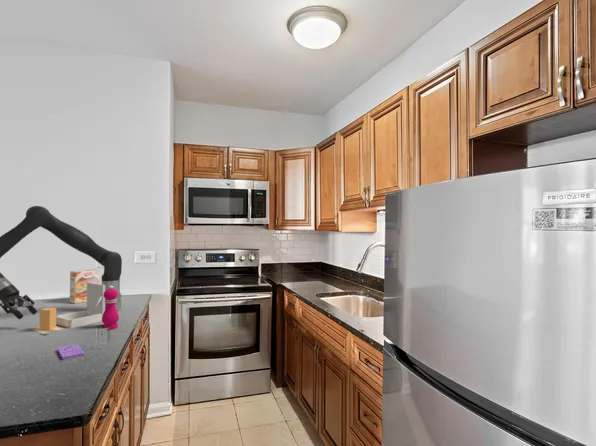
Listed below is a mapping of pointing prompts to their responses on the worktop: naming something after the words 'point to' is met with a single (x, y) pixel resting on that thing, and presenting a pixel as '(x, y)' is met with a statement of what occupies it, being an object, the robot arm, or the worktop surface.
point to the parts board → (47, 330)
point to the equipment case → (93, 309)
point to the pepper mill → (110, 309)
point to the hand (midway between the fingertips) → (28, 315)
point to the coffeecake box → (81, 284)
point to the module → (47, 318)
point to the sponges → (70, 351)
